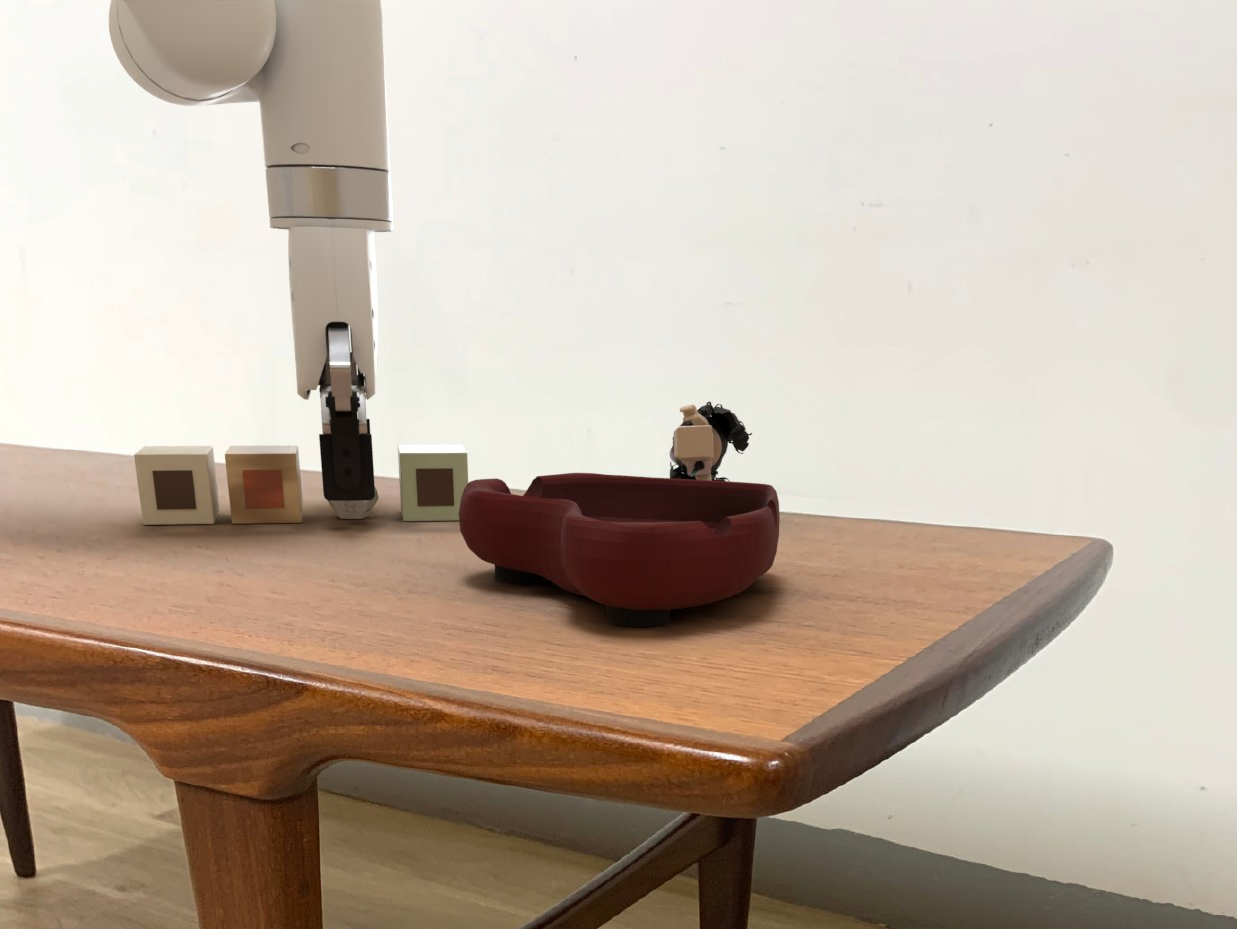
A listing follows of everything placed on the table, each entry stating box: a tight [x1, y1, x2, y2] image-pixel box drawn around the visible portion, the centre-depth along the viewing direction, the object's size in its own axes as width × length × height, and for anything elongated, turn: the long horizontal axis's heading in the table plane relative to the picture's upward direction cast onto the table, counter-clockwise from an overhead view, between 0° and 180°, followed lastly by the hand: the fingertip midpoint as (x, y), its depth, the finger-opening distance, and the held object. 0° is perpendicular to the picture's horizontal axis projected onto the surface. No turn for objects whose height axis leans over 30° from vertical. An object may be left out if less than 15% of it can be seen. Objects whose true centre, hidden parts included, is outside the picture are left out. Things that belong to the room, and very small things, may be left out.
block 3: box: [397, 444, 469, 522], centre depth 90 cm, size 4×4×4 cm
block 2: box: [224, 445, 304, 525], centre depth 88 cm, size 4×4×4 cm
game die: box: [326, 487, 380, 520], centre depth 89 cm, size 4×4×3 cm
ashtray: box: [459, 472, 781, 628], centre depth 70 cm, size 18×16×5 cm
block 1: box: [133, 445, 221, 526], centre depth 87 cm, size 4×4×4 cm
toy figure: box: [669, 401, 753, 482], centre depth 96 cm, size 7×6×15 cm
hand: (349, 488), depth 89 cm, fingers open, 9 cm apart
